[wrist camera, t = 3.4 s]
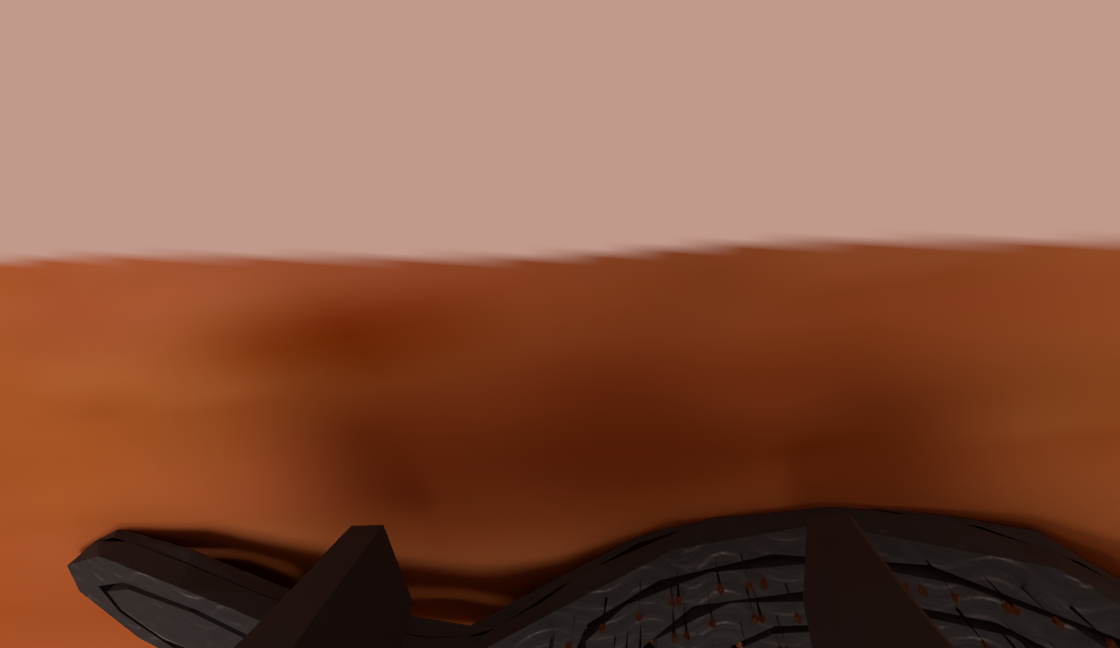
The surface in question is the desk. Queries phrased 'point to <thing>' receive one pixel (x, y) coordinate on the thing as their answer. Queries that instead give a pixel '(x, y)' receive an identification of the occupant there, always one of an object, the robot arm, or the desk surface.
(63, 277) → the desk surface
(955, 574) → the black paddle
